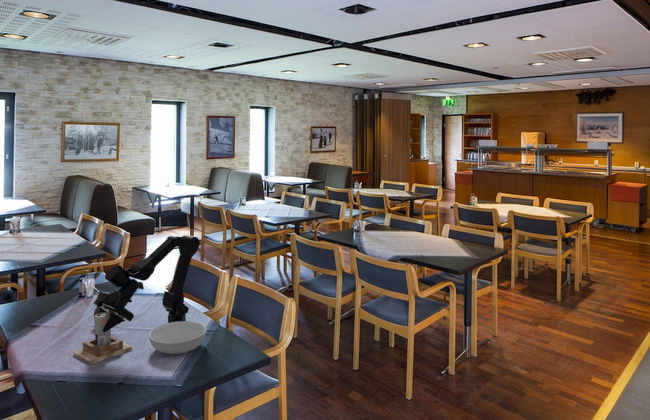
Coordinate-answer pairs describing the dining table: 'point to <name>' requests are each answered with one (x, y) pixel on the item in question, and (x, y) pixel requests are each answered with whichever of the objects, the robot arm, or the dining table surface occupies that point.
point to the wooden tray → (101, 350)
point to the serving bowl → (177, 337)
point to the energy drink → (99, 324)
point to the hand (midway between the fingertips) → (99, 329)
